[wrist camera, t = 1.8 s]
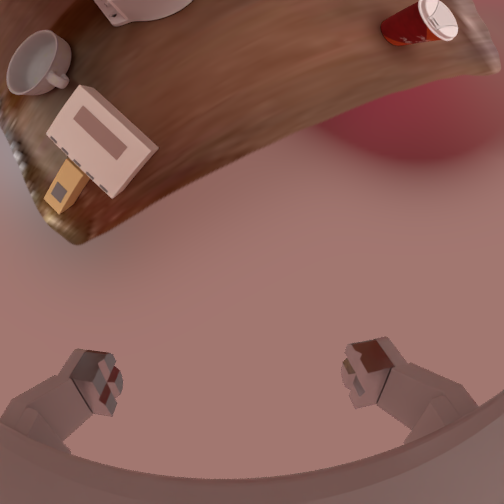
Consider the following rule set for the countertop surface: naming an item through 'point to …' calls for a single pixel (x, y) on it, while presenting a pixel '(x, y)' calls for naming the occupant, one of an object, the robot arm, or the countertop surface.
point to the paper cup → (420, 24)
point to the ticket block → (100, 140)
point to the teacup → (39, 64)
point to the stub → (66, 186)
